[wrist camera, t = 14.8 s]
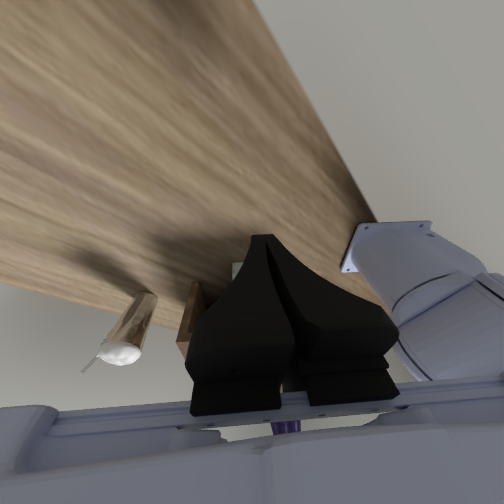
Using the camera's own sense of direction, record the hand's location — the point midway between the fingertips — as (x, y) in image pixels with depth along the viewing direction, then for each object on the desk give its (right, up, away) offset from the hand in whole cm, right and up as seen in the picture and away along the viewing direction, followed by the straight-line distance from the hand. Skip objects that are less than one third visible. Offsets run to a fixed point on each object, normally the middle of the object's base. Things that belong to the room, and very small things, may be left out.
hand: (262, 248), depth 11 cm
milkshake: (-17, -7, +17) cm, 25 cm away
